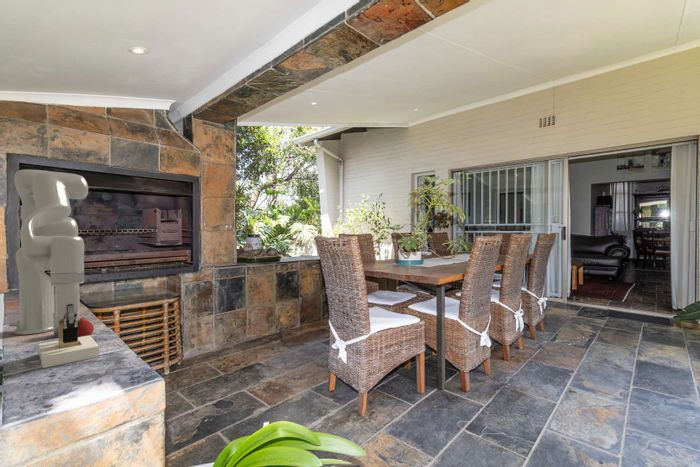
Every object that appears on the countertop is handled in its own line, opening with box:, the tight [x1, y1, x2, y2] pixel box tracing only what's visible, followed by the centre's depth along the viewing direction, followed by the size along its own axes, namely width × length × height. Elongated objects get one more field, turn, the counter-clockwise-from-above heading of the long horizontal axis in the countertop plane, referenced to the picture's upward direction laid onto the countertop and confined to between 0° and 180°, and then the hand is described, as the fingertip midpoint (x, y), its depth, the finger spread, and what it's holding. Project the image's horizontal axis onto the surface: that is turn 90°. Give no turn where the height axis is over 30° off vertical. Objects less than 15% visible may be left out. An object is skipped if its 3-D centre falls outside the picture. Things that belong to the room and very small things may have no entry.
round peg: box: [53, 312, 79, 338], centre depth 123 cm, size 7×7×8 cm
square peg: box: [58, 319, 79, 349], centre depth 100 cm, size 4×4×10 cm
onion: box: [78, 316, 95, 337], centre depth 114 cm, size 6×6×8 cm
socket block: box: [38, 335, 100, 369], centre depth 100 cm, size 16×12×3 cm
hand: (68, 338), depth 100 cm, fingers open, 9 cm apart
